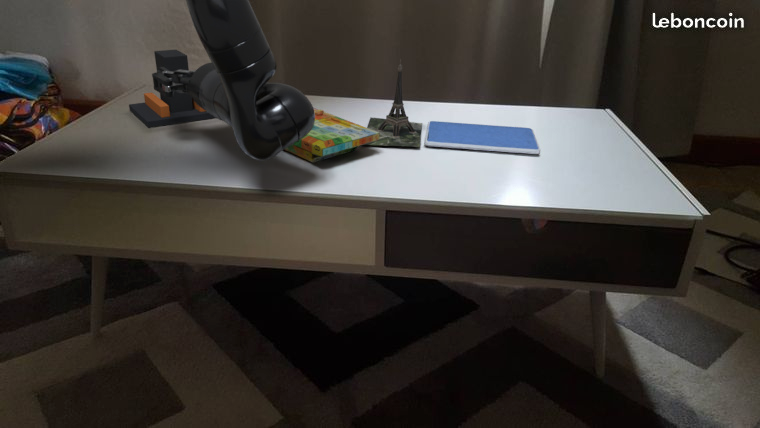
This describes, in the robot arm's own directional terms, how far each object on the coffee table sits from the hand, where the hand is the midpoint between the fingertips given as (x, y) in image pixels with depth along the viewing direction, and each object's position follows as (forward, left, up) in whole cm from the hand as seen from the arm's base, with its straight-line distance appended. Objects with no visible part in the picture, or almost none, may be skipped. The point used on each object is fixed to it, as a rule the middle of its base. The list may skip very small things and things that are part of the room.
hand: (186, 70), depth 97 cm
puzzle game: (+13, -19, -10) cm, 25 cm away
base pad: (0, +9, -10) cm, 13 cm away
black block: (0, +9, -9) cm, 12 cm away
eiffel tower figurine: (+29, -21, -10) cm, 37 cm away
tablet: (+40, -31, -10) cm, 52 cm away
